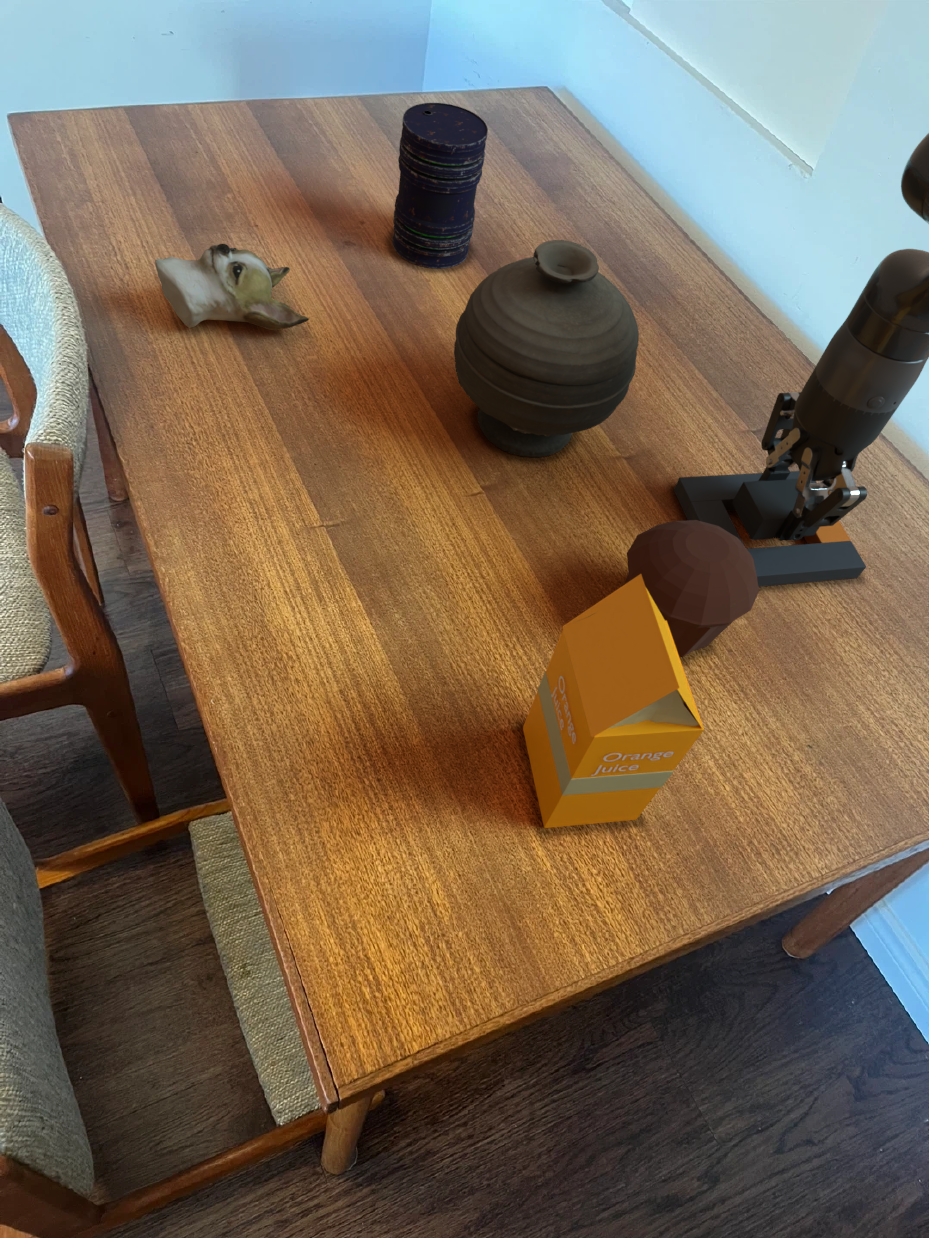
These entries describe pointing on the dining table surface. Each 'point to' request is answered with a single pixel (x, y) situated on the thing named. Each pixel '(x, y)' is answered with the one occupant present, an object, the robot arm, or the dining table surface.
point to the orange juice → (610, 713)
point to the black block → (767, 507)
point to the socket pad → (781, 564)
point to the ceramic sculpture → (225, 289)
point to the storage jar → (438, 183)
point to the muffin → (694, 578)
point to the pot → (545, 349)
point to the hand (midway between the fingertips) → (774, 516)
